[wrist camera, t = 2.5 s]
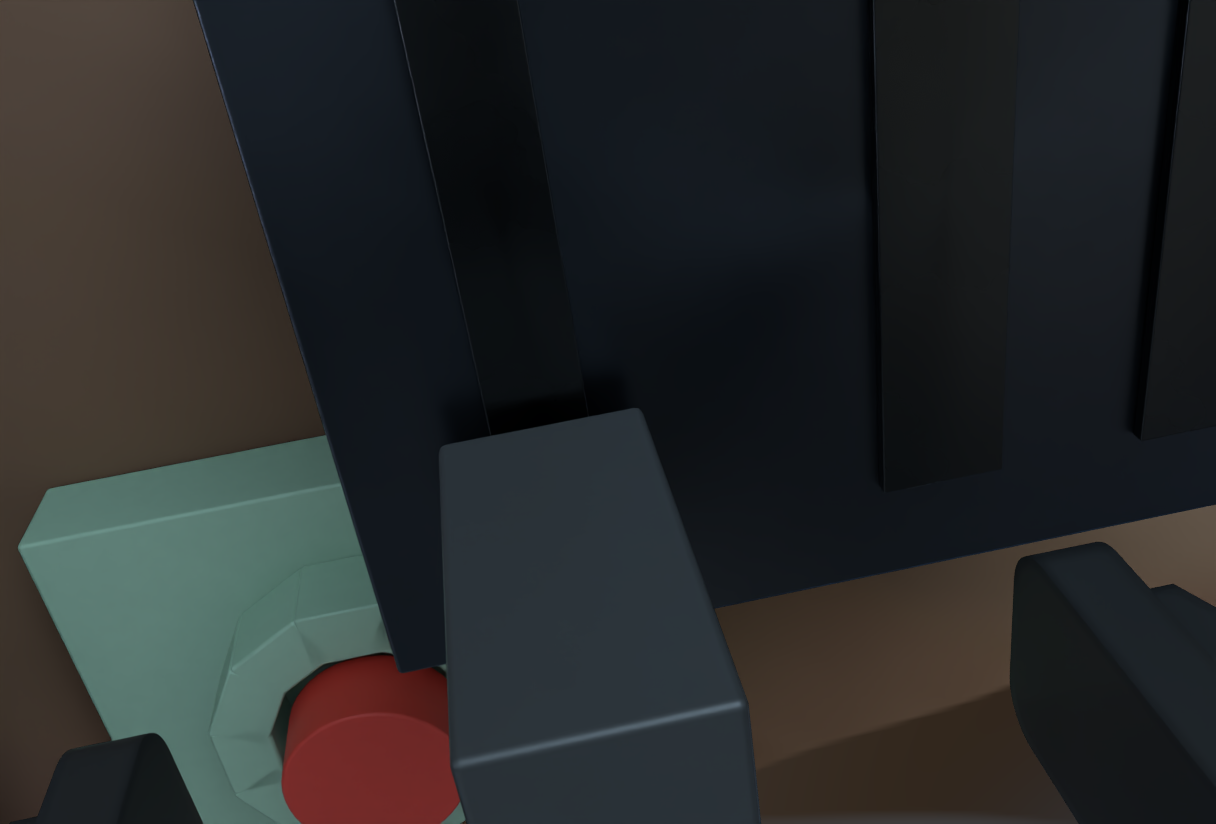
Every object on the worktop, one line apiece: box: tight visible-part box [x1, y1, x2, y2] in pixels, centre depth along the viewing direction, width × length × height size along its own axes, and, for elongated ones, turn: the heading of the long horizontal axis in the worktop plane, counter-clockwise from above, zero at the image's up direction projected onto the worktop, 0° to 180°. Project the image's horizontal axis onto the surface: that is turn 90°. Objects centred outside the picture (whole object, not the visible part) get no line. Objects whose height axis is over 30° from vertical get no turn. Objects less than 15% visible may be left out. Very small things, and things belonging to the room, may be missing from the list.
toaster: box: [193, 0, 1216, 673], centre depth 17 cm, size 14×11×10 cm
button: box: [281, 655, 460, 824], centre depth 23 cm, size 4×4×2 cm
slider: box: [439, 408, 761, 824], centre depth 12 cm, size 2×2×5 cm
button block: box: [18, 435, 465, 824], centre depth 25 cm, size 12×10×4 cm
